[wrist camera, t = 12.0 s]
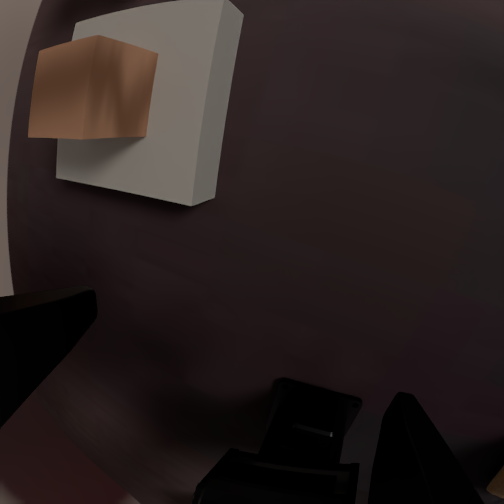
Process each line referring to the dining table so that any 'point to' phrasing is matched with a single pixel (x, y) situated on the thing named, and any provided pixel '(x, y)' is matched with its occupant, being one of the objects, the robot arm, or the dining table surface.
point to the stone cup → (497, 484)
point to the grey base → (166, 103)
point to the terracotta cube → (92, 90)
